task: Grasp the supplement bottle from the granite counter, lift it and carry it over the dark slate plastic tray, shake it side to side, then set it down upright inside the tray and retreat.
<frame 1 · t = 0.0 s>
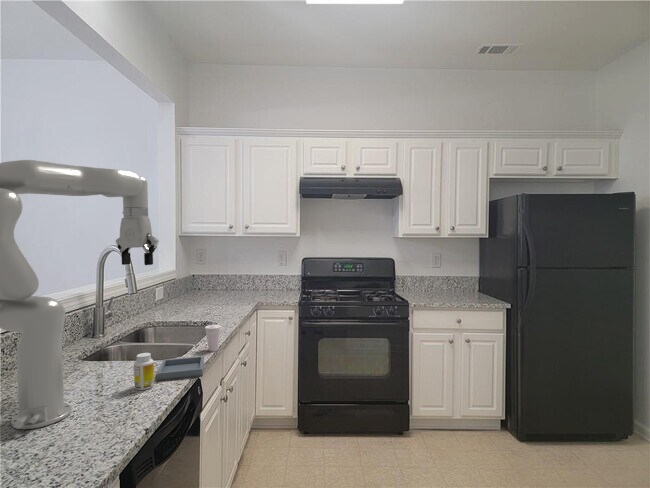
hand: (137, 264, 130), 37 cm above the worktop, tool pointing down, fingers open, 9 cm apart
supplement bottle: (144, 387, 119), on the worktop
smoothie: (213, 350, 156), on the worktop
slate tray: (182, 371, 133), on the worktop
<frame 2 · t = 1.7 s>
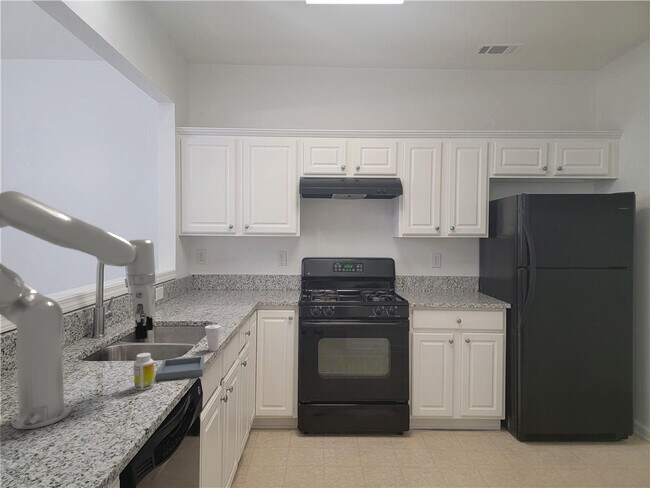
hand: (144, 334, 119), 16 cm above the worktop, tool pointing down, fingers open, 9 cm apart
nothing on the worktop moved.
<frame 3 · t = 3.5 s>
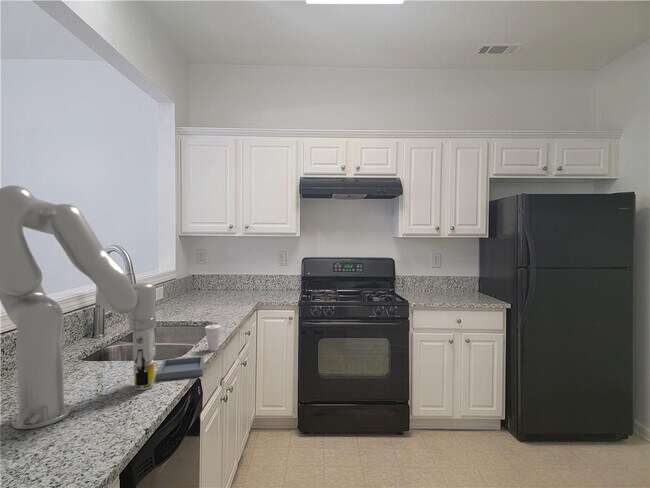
hand: (144, 380, 119), 2 cm above the worktop, tool pointing down, fingers closed on supplement bottle, 5 cm apart
supplement bottle: (144, 387, 119), on the worktop, touching gripper
everything else where it was.
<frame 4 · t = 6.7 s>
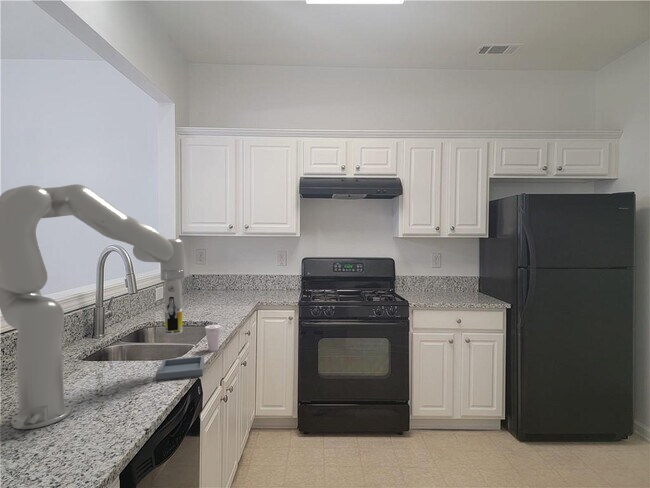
hand: (173, 327, 132), 15 cm above the worktop, tool pointing down, fingers closed on supplement bottle, 5 cm apart
supplement bottle: (173, 333, 132), point 13 cm above the worktop, touching gripper
everything else where it was.
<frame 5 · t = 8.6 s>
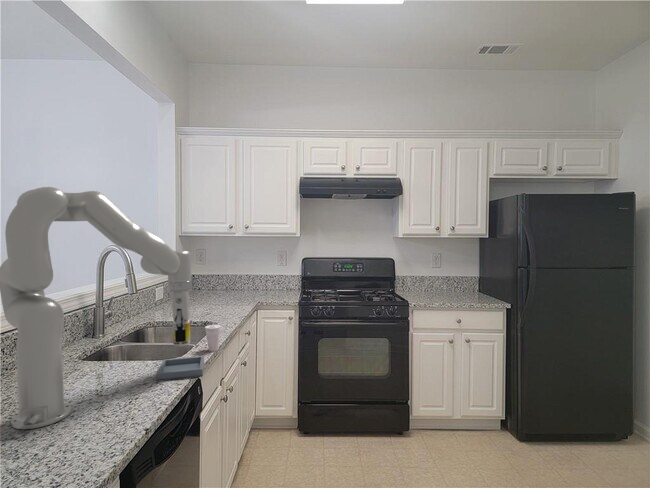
hand: (181, 338, 132), 11 cm above the worktop, tool pointing down, fingers closed on supplement bottle, 5 cm apart
supplement bottle: (181, 344, 132), point 9 cm above the worktop, touching gripper
everything else where it was.
when the fingers open (4 cm above the worktop, at t = 10.2 s): supplement bottle drops 2 cm, resting on slate tray.
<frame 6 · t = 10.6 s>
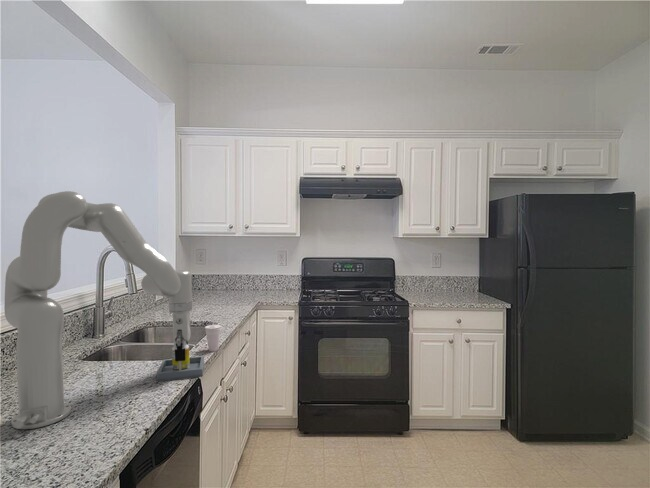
hand: (181, 356, 132), 5 cm above the worktop, tool pointing down, fingers open, 9 cm apart
supplement bottle: (181, 370, 132), point 1 cm above the worktop, touching slate tray
everything else where it was.
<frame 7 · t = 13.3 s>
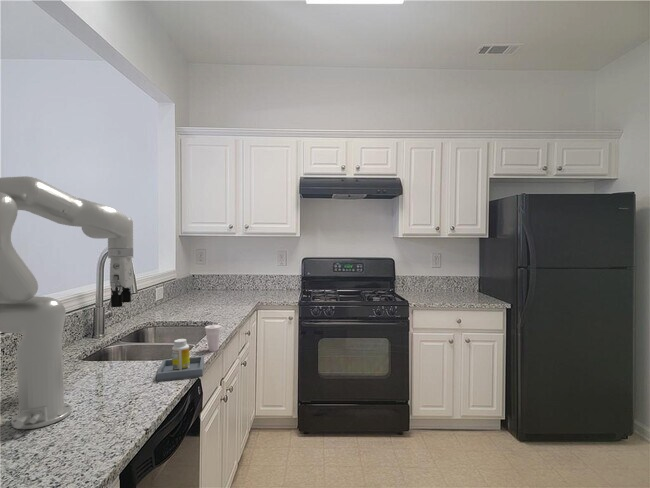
hand: (121, 304, 129), 24 cm above the worktop, tool pointing down, fingers open, 9 cm apart
nothing on the worktop moved.
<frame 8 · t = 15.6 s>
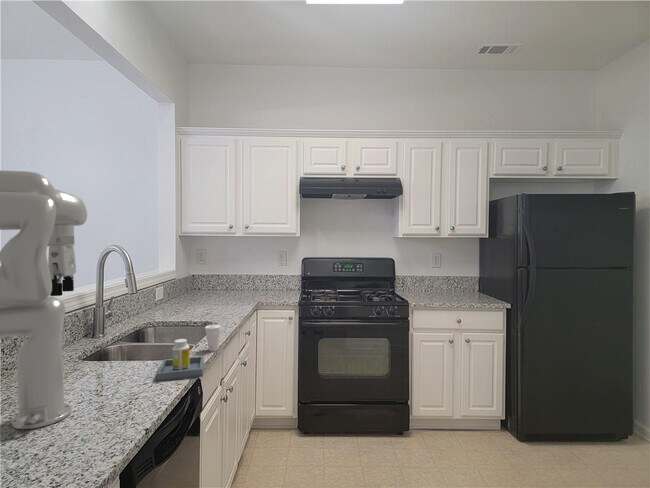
hand: (62, 293, 127), 28 cm above the worktop, tool pointing down, fingers open, 9 cm apart
nothing on the worktop moved.
at the end: supplement bottle inside the target area on the slate tray (0.3 cm from its centre), point 0.4 cm above the slate tray's base; supplement bottle tilted 1°; the gripper is holding nothing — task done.
